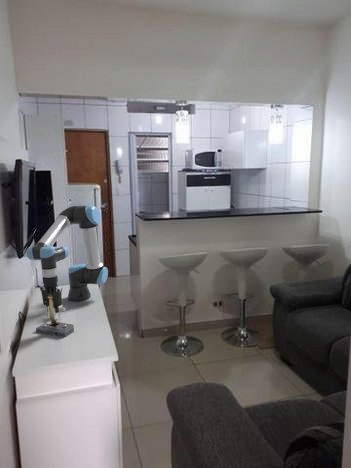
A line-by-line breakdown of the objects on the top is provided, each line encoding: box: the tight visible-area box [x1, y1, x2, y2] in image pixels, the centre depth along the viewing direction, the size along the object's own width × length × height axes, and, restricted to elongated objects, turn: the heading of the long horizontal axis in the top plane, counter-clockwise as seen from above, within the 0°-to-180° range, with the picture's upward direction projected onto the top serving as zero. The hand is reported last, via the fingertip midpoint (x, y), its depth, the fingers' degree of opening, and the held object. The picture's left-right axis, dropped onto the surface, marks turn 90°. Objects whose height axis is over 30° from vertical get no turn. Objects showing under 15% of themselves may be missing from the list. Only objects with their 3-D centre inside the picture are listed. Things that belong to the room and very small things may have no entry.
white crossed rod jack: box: [56, 304, 66, 317], centre depth 213 cm, size 10×10×10 cm
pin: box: [48, 295, 58, 324], centre depth 191 cm, size 4×4×15 cm
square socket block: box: [35, 321, 75, 338], centre depth 193 cm, size 7×20×5 cm, turn 67°
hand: (53, 317), depth 192 cm, fingers closed on pin, 3 cm apart
